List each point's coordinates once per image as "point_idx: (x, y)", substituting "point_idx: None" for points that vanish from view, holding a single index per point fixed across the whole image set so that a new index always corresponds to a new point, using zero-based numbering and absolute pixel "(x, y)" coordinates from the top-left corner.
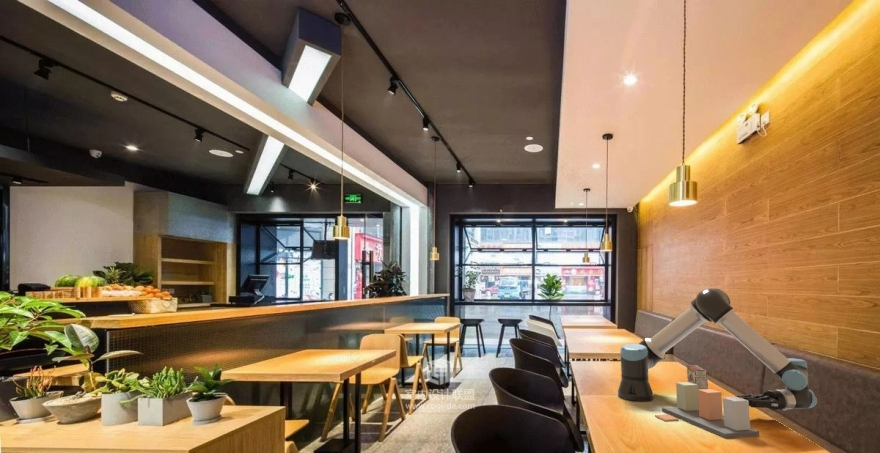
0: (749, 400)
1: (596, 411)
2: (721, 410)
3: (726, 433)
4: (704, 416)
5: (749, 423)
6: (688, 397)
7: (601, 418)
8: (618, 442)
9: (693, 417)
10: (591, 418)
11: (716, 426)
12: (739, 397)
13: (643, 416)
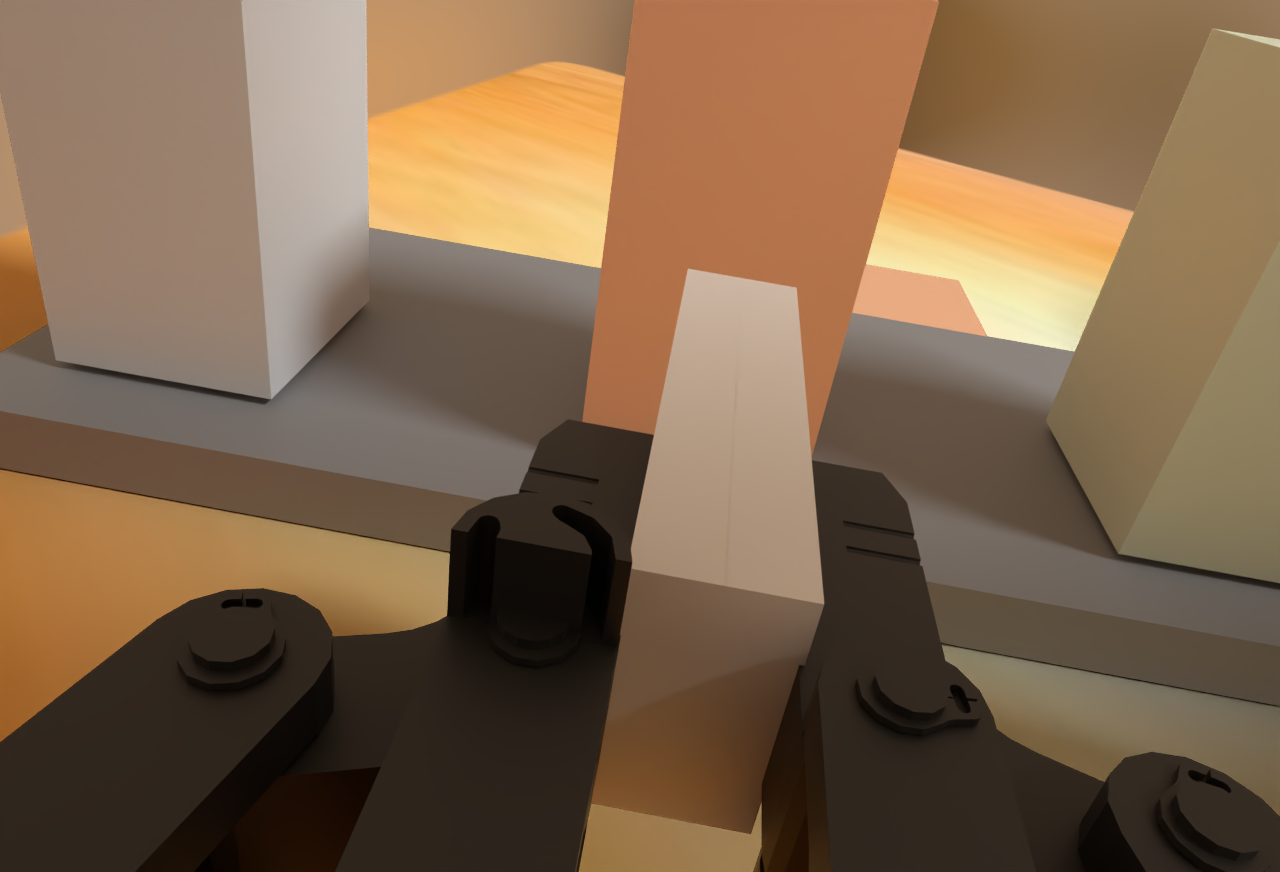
0: (414, 729)
1: (1072, 205)
2: (597, 314)
3: None
4: None
5: (41, 267)
6: (1141, 257)
7: (915, 167)
8: (554, 77)
9: None
10: (917, 154)
11: (425, 277)
12: (942, 674)
13: (962, 264)
